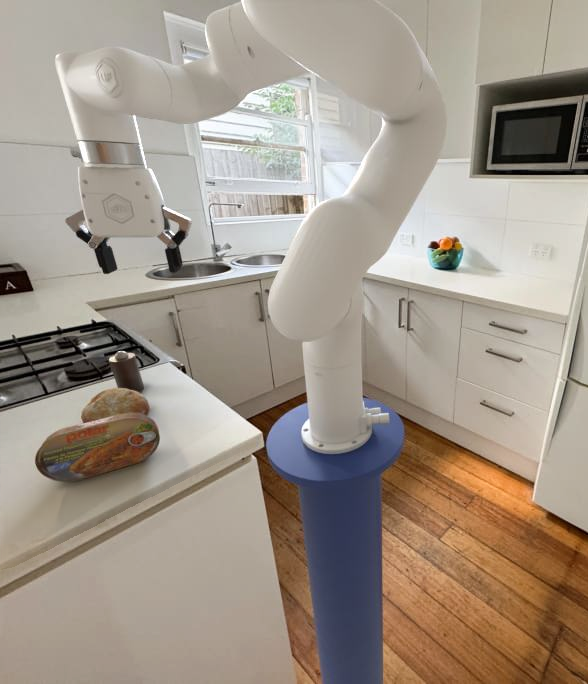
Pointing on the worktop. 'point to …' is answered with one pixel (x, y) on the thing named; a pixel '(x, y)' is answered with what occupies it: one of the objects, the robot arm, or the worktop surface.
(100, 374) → the worktop surface
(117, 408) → the bread roll
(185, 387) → the worktop surface
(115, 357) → the pepper mill
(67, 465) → the tin
